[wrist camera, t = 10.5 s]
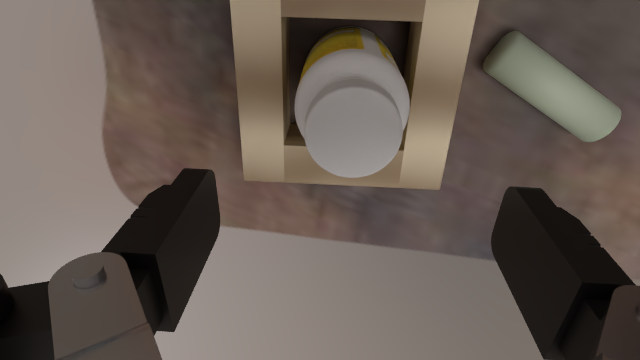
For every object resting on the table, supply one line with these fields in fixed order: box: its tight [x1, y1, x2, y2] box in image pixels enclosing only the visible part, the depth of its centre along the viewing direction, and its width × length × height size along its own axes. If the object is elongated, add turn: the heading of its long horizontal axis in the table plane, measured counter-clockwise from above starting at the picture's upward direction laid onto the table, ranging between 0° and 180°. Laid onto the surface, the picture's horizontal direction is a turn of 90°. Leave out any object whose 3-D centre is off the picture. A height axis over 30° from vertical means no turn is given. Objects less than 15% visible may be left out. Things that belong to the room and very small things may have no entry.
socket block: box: [230, 0, 479, 190], centre depth 23 cm, size 12×12×4 cm
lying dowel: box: [483, 31, 621, 142], centre depth 23 cm, size 8×3×3 cm
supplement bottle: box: [294, 26, 410, 178], centre depth 20 cm, size 5×5×10 cm
